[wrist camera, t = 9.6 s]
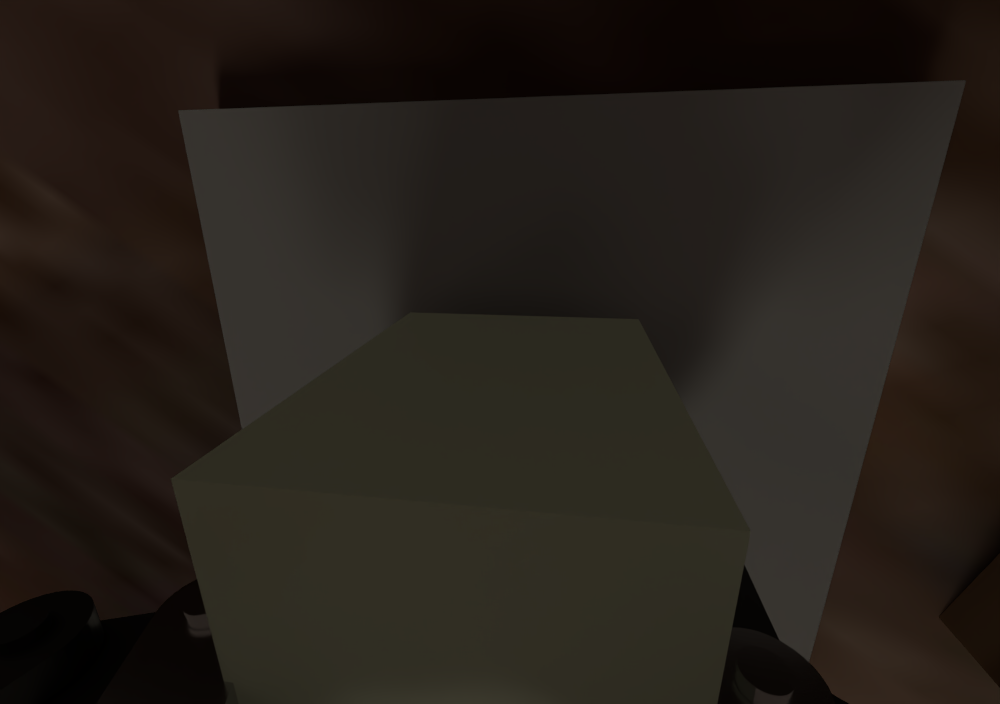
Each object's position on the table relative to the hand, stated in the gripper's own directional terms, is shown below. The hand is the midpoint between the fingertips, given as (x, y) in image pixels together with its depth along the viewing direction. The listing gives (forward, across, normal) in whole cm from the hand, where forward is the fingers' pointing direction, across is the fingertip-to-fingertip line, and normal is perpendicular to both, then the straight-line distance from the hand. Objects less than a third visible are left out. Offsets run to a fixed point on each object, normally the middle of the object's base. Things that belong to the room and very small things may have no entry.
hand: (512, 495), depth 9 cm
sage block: (+1, 0, 0) cm, 1 cm away
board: (+3, 0, 0) cm, 3 cm away
